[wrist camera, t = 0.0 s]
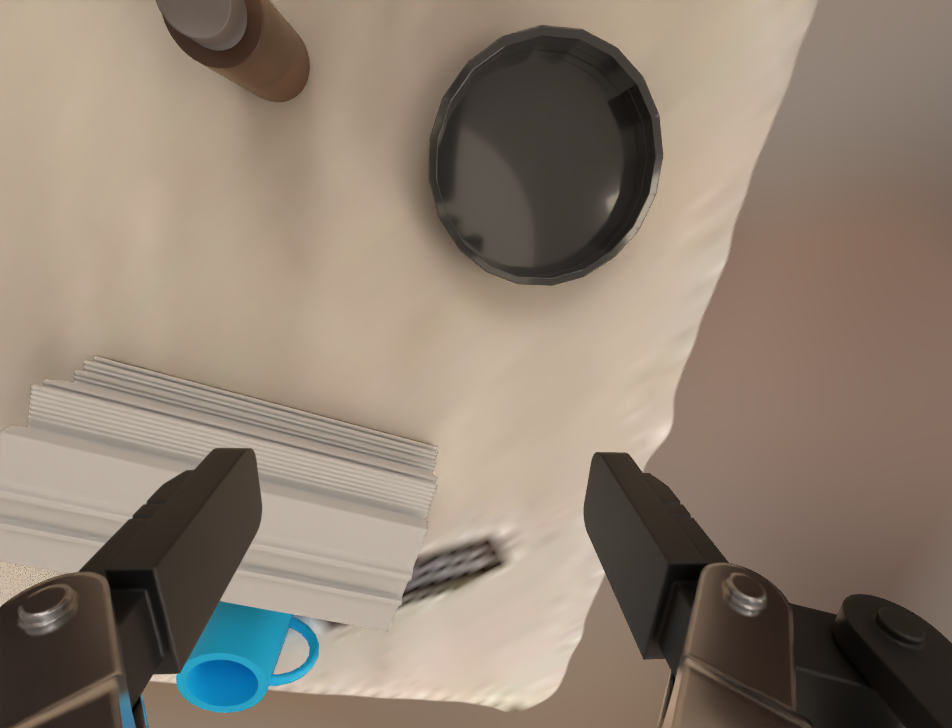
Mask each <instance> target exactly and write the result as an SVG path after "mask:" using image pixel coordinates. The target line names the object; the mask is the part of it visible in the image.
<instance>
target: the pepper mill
mask: <svg viewBox="0 0 952 728" xmlns="http://www.w3.org/2000/svg"><path fill="white" fill-rule="evenodd" d="M156 2H157V5H158V7H159V9H160V11H161V13H162V15H163V18H164V22H165V24H166V26H167V28H168V30H169V32H170V34H171V36H172V37H173V39H174V40H175V42H176V43H177V44H178V45H179V46H180V48H181V49H182V50H183V51H184V52H185V53H186V54H188V55H189V56H190V57H192V58H193V59H194V60H196V61H198V62H199V63H201V64H203V65H205V66H206V67H208V68H210V69H212V70H213V71H215V72H217V73H219V74H220V75H222V76H224V77H226V78H228V79H229V80H231V81H233V82H235V83H236V84H238V85H240V86H242V87H243V88H245V89H247V90H249V91H250V92H252V93H254V94H256V95H257V96H259V97H261V98H263V99H265V100H269V101H273V102H283V101H287V100H290V99H292V98H294V97H295V96H297V95H298V94H299V93H300V92H301V91H302V90H303V88H304V86H305V85H306V82H307V80H308V76H309V57H308V53H307V50H306V47H305V45H304V43H303V41H302V39H301V38H300V36H299V35H298V34H297V32H296V31H295V30H294V29H293V28H292V26H291V25H290V24H289V23H288V22H287V21H286V19H285V18H284V17H283V16H282V15H281V14H280V12H279V11H278V10H277V9H276V8H275V7H274V5H273V4H272V3H271V2H270V1H269V0H156Z"/></svg>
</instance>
